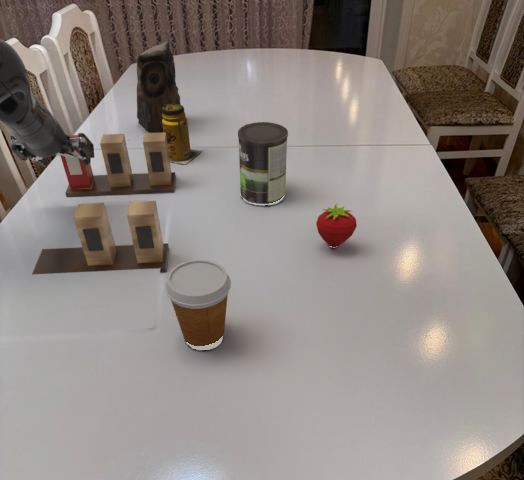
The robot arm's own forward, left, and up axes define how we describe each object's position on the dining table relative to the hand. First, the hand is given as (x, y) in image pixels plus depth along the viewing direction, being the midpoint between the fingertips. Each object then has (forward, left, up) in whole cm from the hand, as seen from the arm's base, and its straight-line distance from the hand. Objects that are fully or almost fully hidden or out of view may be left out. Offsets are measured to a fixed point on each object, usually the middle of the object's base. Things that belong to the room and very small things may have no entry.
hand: (66, 161), depth 103 cm
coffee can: (+41, -1, -9) cm, 42 cm away
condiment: (+22, +21, -9) cm, 32 cm away
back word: (+9, +6, -9) cm, 14 cm away
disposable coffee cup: (+28, -46, -9) cm, 54 cm away
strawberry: (+53, -23, -9) cm, 58 cm away
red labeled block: (0, +6, -8) cm, 10 cm away
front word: (+9, -24, -9) cm, 27 cm away
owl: (+15, +41, -9) cm, 45 cm away
